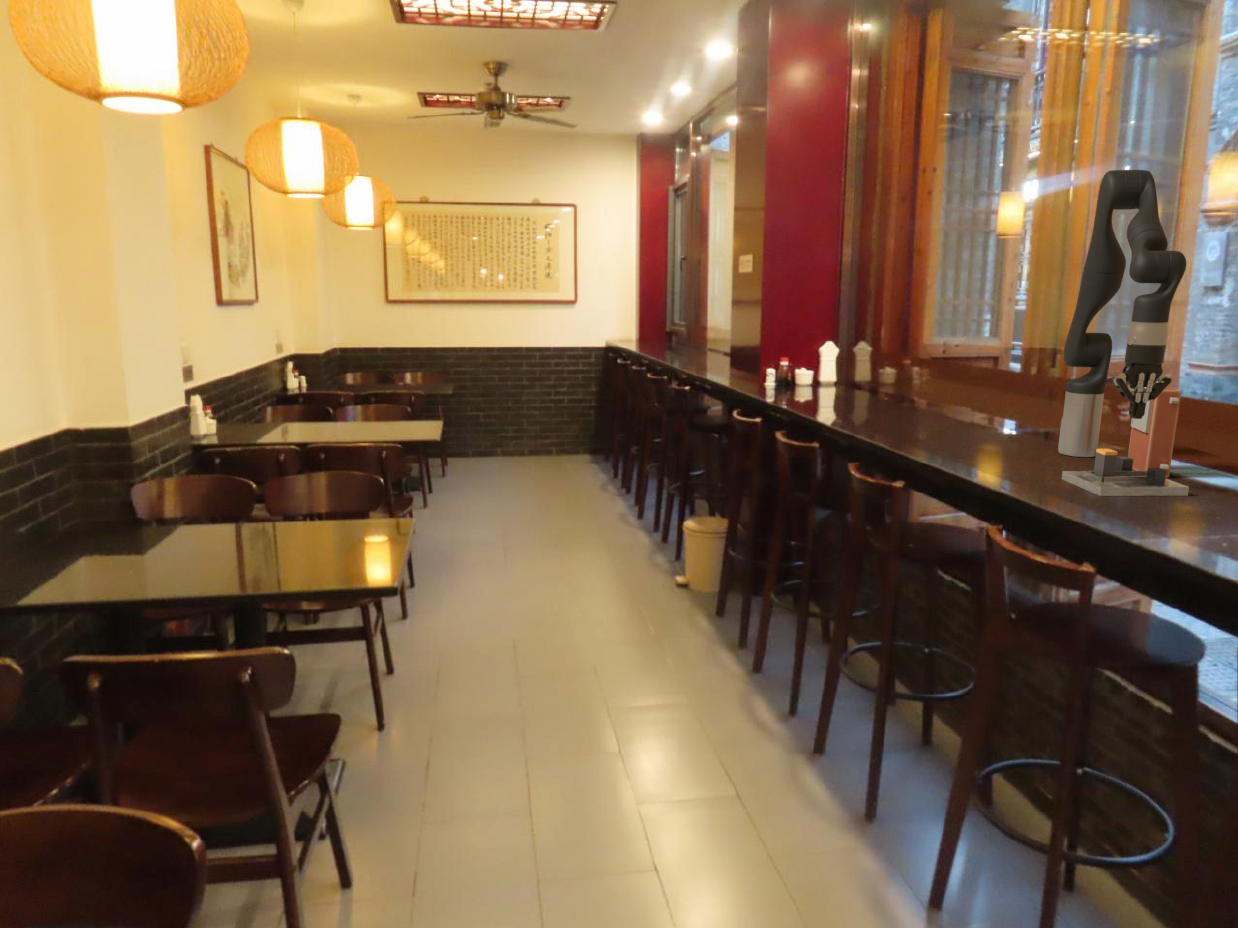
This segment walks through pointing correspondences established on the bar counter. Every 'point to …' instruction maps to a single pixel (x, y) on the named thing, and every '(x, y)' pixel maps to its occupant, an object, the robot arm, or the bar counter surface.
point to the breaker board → (1127, 481)
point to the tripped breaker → (1105, 462)
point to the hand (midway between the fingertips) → (1135, 418)
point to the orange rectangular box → (1155, 432)
